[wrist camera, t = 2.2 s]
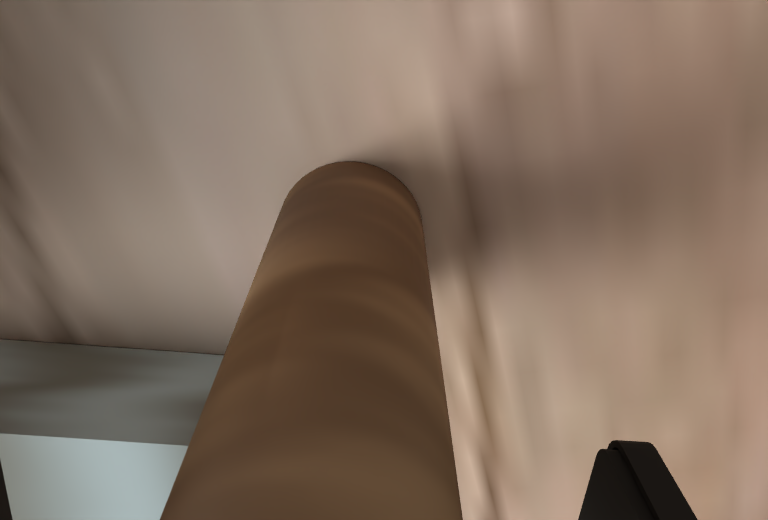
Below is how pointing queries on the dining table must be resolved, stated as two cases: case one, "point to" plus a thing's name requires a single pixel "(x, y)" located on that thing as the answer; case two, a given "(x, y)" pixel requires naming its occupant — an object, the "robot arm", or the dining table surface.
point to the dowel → (329, 371)
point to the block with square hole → (96, 427)
